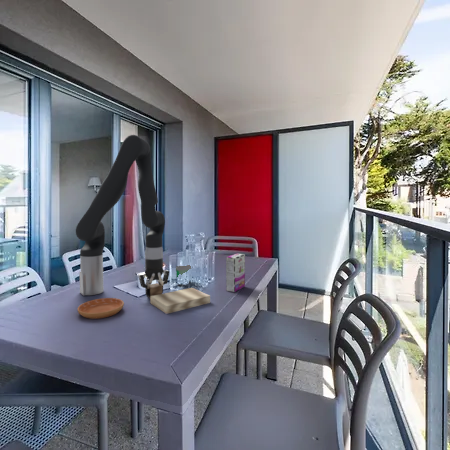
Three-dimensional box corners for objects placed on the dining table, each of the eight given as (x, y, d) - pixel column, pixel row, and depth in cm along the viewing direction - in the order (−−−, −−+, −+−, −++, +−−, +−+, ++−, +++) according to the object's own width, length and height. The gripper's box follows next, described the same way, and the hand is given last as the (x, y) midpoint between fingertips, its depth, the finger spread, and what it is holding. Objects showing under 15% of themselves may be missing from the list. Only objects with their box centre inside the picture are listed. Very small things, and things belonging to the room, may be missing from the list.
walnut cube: (151, 299, 123) (151, 287, 122) (146, 296, 127) (146, 285, 126) (162, 296, 126) (162, 285, 125) (157, 294, 130) (157, 283, 129)
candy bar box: (236, 285, 145) (236, 253, 144) (245, 286, 143) (245, 254, 141) (225, 291, 136) (225, 256, 134) (234, 292, 133) (235, 257, 132)
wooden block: (166, 313, 107) (166, 306, 107) (150, 303, 118) (150, 296, 117) (210, 302, 119) (210, 295, 119) (192, 294, 130) (192, 287, 130)
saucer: (77, 324, 97) (77, 315, 97) (77, 308, 112) (77, 301, 111) (127, 316, 105) (126, 308, 105) (120, 302, 119) (120, 295, 119)
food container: (187, 287, 141) (187, 267, 140) (175, 286, 142) (175, 266, 142) (195, 280, 153) (195, 262, 152) (184, 279, 154) (184, 261, 154)
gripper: (165, 254, 132) (165, 290, 134) (134, 257, 123) (135, 296, 125) (173, 256, 126) (173, 294, 128) (141, 260, 117) (142, 300, 119)
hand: (154, 295), depth 126 cm, fingers closed on walnut cube, 5 cm apart
